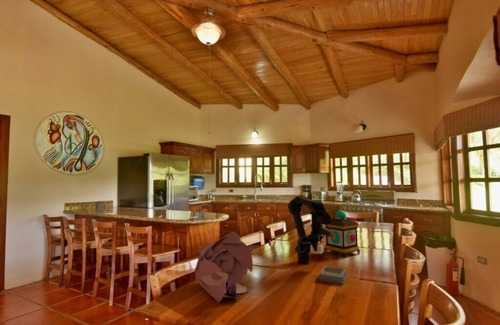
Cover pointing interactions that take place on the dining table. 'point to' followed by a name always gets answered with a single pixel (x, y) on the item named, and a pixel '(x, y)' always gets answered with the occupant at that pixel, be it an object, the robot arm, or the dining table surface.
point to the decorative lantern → (342, 235)
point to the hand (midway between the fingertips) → (317, 250)
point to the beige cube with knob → (319, 249)
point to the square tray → (333, 275)
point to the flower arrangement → (224, 267)
